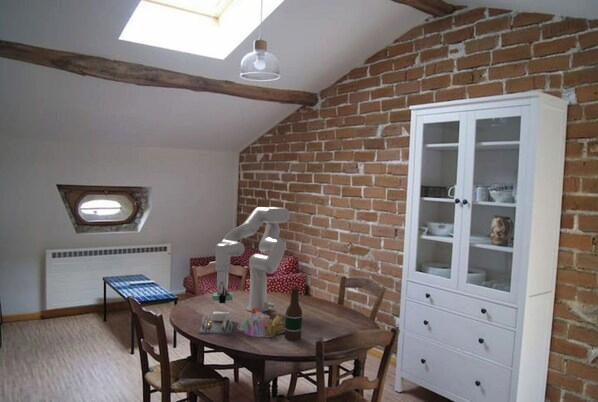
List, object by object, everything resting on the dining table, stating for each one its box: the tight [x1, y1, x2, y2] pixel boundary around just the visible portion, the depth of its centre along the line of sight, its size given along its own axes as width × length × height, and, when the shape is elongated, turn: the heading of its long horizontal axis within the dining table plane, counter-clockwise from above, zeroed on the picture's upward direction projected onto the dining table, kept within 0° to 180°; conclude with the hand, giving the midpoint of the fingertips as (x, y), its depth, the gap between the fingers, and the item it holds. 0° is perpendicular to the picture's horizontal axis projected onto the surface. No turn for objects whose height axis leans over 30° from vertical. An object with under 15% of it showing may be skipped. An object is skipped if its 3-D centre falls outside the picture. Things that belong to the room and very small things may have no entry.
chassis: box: [198, 313, 234, 335], centre depth 218 cm, size 15×12×6 cm
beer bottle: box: [284, 286, 303, 342], centre depth 210 cm, size 8×8×24 cm
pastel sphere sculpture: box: [236, 307, 285, 338], centre depth 221 cm, size 25×24×9 cm
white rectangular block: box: [212, 311, 230, 322], centre depth 233 cm, size 8×4×4 cm, turn 92°
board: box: [212, 291, 234, 302], centre depth 233 cm, size 10×6×3 cm, turn 92°
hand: (223, 300), depth 233 cm, fingers closed on board, 6 cm apart
